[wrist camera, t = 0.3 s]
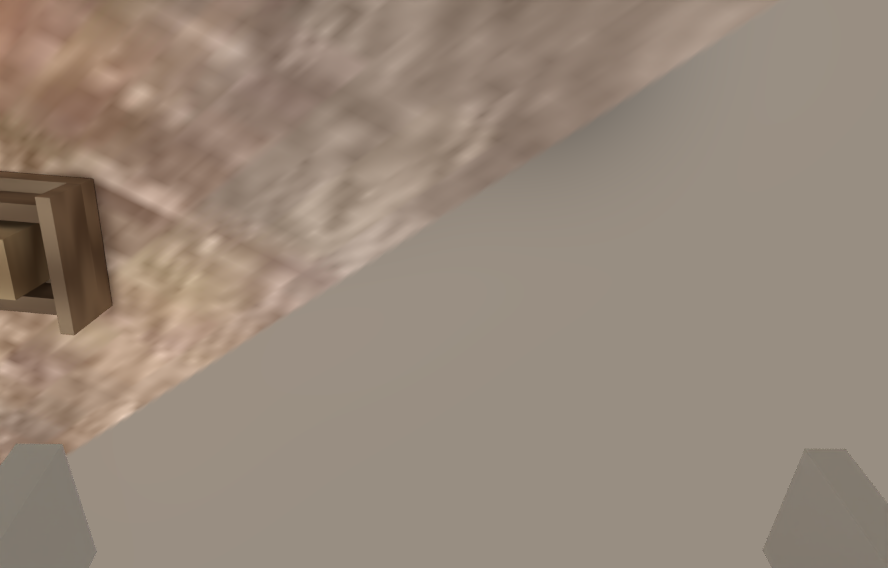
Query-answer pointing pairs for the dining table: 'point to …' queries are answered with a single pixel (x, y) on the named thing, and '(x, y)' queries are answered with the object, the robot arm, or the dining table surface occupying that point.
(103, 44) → the dining table surface
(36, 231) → the oak offcut
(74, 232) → the tray
